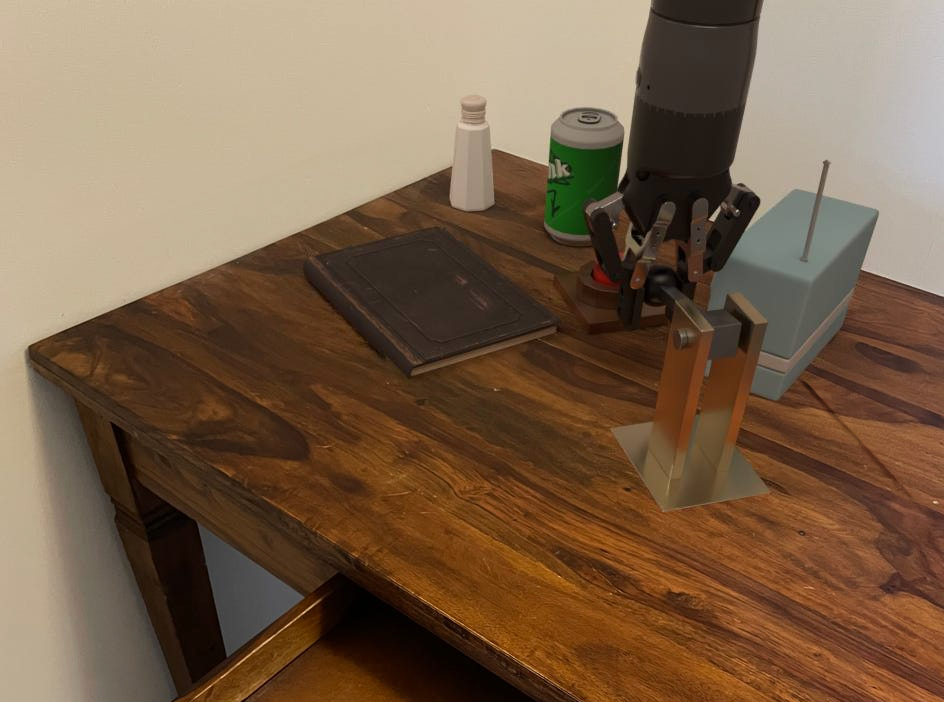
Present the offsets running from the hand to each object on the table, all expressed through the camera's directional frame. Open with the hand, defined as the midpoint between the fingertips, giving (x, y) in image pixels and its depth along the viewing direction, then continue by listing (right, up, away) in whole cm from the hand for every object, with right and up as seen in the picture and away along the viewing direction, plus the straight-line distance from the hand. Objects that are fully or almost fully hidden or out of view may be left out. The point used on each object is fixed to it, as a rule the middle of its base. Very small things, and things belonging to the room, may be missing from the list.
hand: (651, 322), depth 77 cm
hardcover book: (-19, +6, +16) cm, 26 cm away
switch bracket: (+3, -12, -1) cm, 13 cm away
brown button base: (-1, +6, +16) cm, 17 cm away
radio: (+12, 0, +11) cm, 17 cm away
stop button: (-1, +9, +13) cm, 16 cm away
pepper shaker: (-14, +25, +33) cm, 44 cm away
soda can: (-3, +19, +28) cm, 34 cm away
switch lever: (+1, -2, -5) cm, 5 cm away
